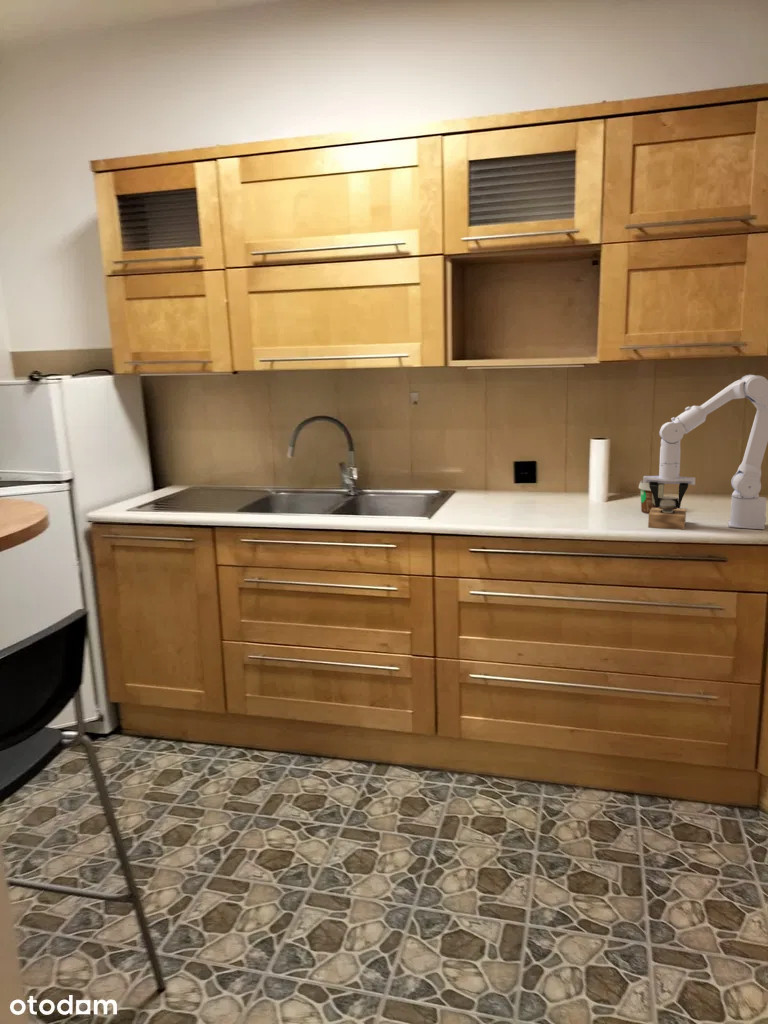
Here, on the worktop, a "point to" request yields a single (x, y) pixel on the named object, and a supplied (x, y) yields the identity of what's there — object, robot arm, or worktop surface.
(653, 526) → the block
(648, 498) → the food container
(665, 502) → the grey rounded piece
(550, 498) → the worktop surface
